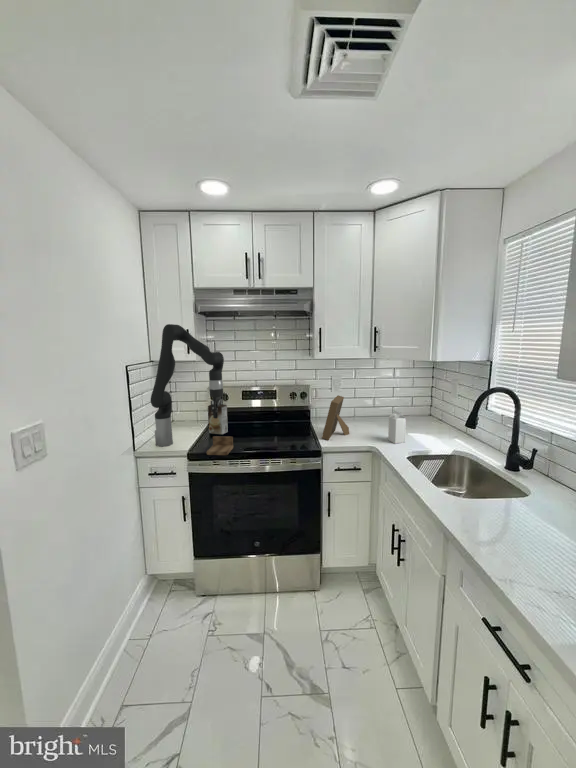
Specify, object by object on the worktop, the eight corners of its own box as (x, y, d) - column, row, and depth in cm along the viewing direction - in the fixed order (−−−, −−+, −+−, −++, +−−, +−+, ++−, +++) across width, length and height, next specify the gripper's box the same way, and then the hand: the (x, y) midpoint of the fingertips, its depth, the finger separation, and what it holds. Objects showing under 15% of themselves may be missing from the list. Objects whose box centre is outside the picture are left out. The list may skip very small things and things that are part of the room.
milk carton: (397, 439, 203) (398, 409, 200) (405, 442, 197) (406, 412, 194) (388, 440, 201) (388, 410, 198) (395, 444, 194) (396, 413, 192)
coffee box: (208, 433, 184) (207, 405, 182) (214, 430, 190) (213, 403, 188) (222, 434, 181) (221, 406, 179) (228, 431, 187) (227, 404, 185)
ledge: (206, 454, 183) (206, 442, 182) (213, 447, 195) (213, 436, 194) (227, 455, 182) (226, 443, 181) (233, 447, 194) (232, 436, 193)
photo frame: (321, 439, 205) (322, 400, 201) (329, 430, 225) (329, 394, 222) (345, 442, 200) (346, 402, 197) (350, 432, 221) (351, 396, 217)
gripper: (214, 385, 189) (215, 413, 192) (205, 389, 175) (206, 419, 178) (226, 385, 189) (227, 413, 191) (218, 389, 174) (220, 419, 177)
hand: (217, 416), depth 184 cm, fingers closed on coffee box, 7 cm apart
